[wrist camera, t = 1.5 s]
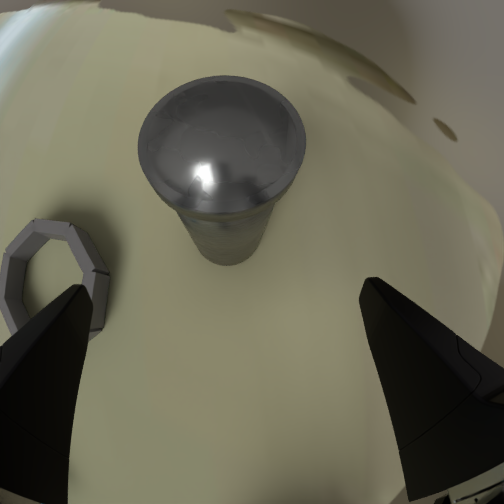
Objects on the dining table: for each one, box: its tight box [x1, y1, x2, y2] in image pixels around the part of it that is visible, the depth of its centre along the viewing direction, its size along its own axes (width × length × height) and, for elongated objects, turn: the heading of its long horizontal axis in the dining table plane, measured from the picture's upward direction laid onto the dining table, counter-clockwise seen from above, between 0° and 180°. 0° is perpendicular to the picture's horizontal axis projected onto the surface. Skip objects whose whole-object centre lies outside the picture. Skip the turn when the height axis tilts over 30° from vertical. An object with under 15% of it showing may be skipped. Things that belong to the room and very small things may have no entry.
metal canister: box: [138, 76, 306, 266], centre depth 14 cm, size 5×5×12 cm
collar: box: [0, 219, 110, 342], centre depth 18 cm, size 10×10×2 cm
